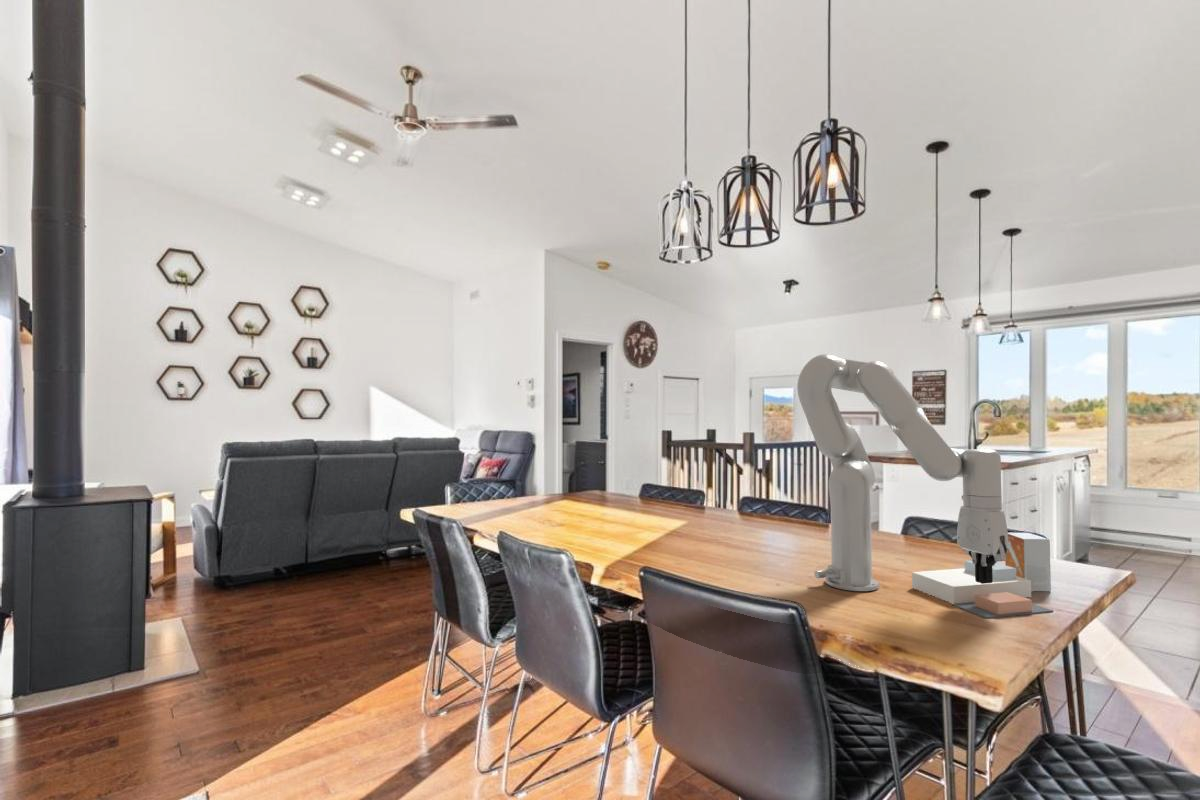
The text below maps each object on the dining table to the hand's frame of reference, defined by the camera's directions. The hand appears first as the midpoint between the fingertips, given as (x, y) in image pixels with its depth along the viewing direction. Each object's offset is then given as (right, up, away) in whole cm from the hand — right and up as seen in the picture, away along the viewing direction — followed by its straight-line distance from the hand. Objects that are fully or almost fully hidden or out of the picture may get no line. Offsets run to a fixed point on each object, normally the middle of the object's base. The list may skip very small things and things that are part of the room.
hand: (984, 582), depth 136 cm
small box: (+19, -6, +13) cm, 24 cm away
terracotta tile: (+1, -2, -4) cm, 5 cm away
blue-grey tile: (+8, -1, +10) cm, 13 cm away
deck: (+2, -5, +8) cm, 10 cm away
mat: (+2, -5, -3) cm, 6 cm away
